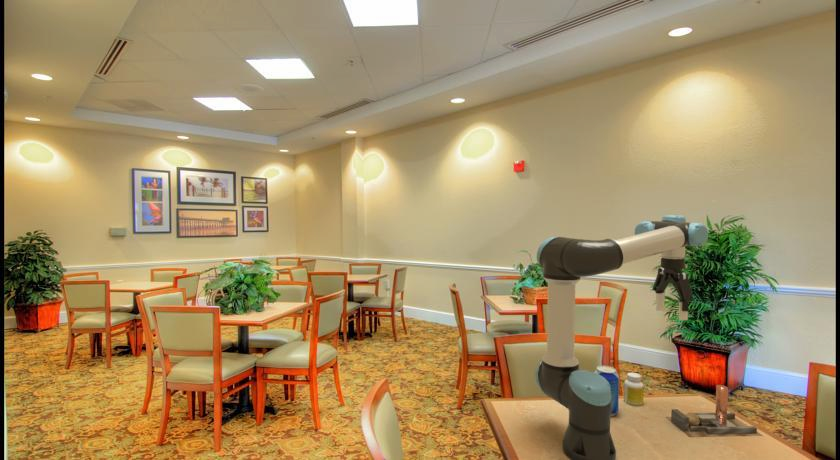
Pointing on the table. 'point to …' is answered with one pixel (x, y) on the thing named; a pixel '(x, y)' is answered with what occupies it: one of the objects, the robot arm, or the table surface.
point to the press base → (708, 429)
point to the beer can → (611, 385)
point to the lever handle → (718, 410)
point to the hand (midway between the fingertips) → (671, 315)
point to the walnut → (693, 419)
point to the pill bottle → (633, 390)
